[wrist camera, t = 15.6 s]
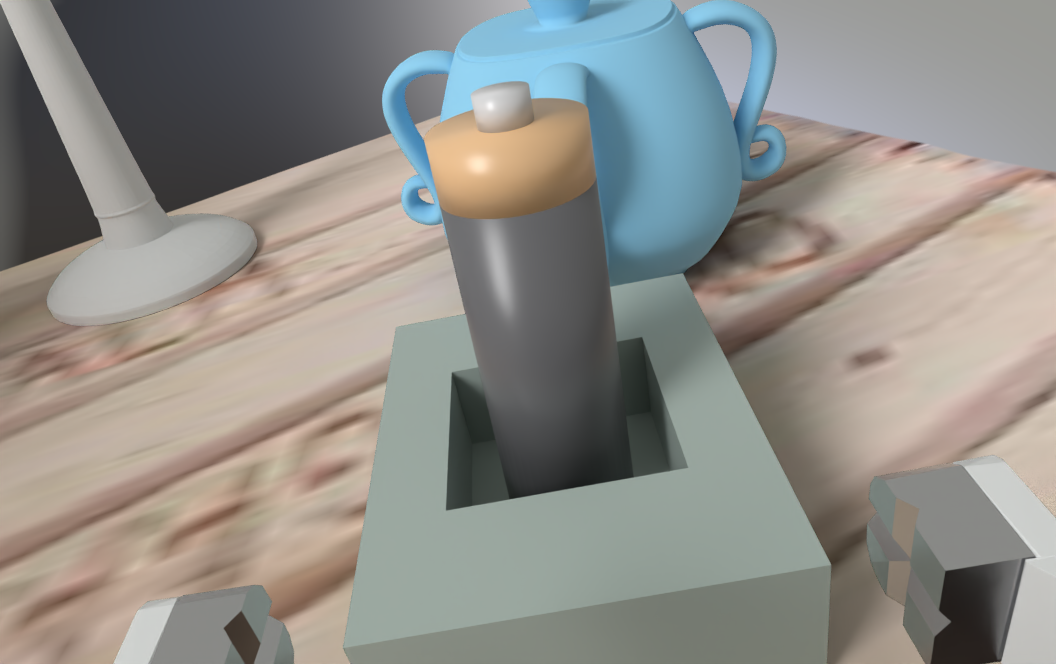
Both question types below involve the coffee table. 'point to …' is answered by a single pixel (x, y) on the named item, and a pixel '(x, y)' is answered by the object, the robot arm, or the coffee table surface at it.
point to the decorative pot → (619, 116)
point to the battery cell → (535, 284)
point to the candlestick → (118, 199)
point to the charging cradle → (586, 518)
